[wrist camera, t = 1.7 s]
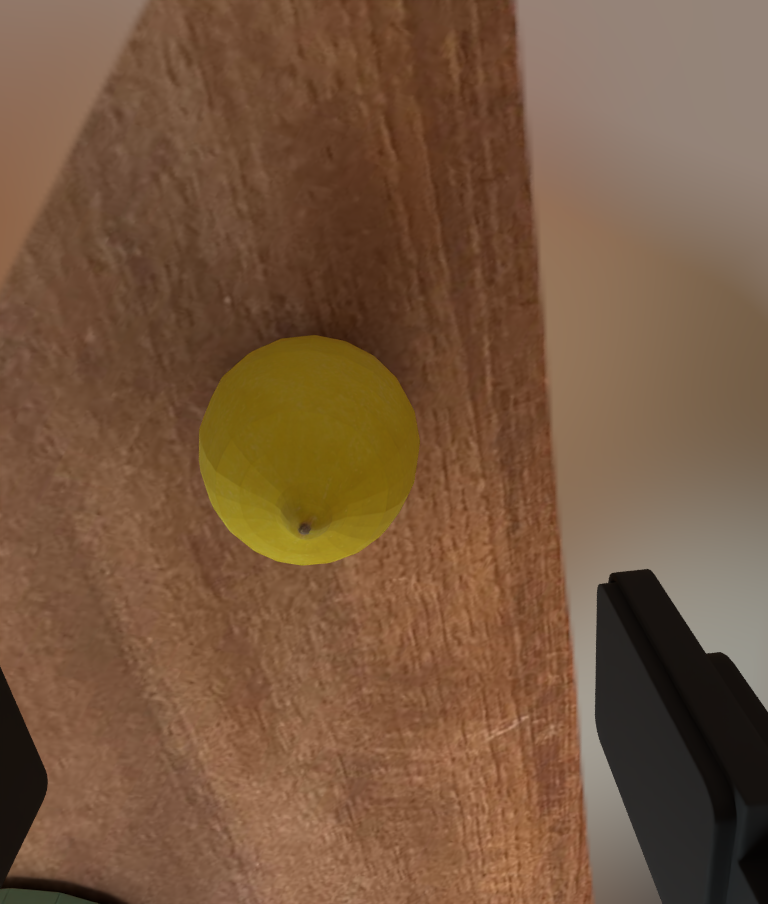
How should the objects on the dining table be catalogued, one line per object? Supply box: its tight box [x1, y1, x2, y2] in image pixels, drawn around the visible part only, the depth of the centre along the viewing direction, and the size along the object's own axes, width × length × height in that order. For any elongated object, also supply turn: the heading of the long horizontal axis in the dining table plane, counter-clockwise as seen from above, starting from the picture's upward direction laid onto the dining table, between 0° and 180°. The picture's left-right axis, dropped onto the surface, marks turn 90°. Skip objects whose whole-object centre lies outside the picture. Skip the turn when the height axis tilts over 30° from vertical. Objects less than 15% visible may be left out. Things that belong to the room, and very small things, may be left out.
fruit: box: [199, 335, 420, 565], centre depth 18 cm, size 6×6×8 cm
